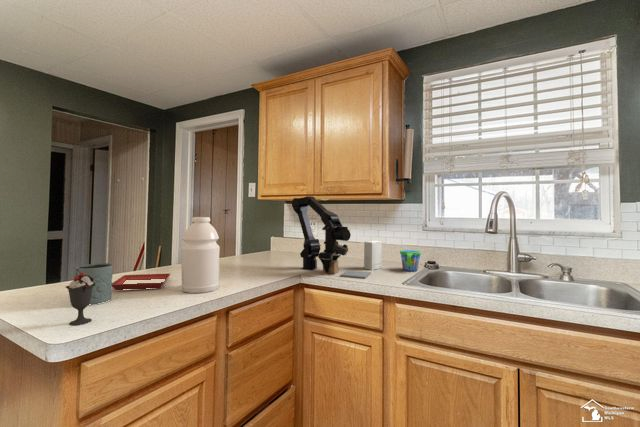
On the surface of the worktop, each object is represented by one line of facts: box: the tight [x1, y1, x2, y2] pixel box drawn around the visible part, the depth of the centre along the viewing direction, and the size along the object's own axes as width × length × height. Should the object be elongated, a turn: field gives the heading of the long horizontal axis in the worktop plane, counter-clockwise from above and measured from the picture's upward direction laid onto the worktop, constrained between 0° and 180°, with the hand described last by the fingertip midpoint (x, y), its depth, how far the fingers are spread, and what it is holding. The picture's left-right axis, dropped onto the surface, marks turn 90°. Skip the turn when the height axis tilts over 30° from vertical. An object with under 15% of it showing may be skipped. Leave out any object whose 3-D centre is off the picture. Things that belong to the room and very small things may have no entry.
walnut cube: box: [322, 260, 339, 276], centre depth 155 cm, size 6×6×6 cm
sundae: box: [65, 268, 96, 326], centre depth 85 cm, size 7×7×15 cm
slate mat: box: [339, 270, 372, 280], centre depth 150 cm, size 12×12×1 cm
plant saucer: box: [111, 273, 171, 291], centre depth 126 cm, size 18×18×3 cm
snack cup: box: [399, 249, 422, 272], centre depth 164 cm, size 16×10×10 cm
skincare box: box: [363, 240, 383, 271], centre depth 167 cm, size 8×6×15 cm
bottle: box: [180, 216, 221, 294], centre depth 122 cm, size 14×14×28 cm
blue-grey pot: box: [75, 262, 114, 305], centre depth 104 cm, size 10×10×12 cm
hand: (330, 270), depth 155 cm, fingers open, 9 cm apart
